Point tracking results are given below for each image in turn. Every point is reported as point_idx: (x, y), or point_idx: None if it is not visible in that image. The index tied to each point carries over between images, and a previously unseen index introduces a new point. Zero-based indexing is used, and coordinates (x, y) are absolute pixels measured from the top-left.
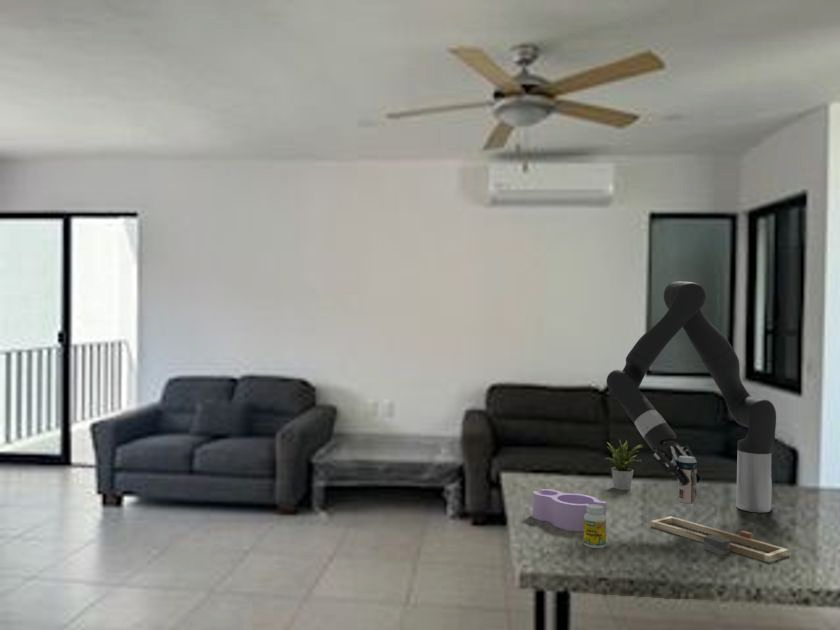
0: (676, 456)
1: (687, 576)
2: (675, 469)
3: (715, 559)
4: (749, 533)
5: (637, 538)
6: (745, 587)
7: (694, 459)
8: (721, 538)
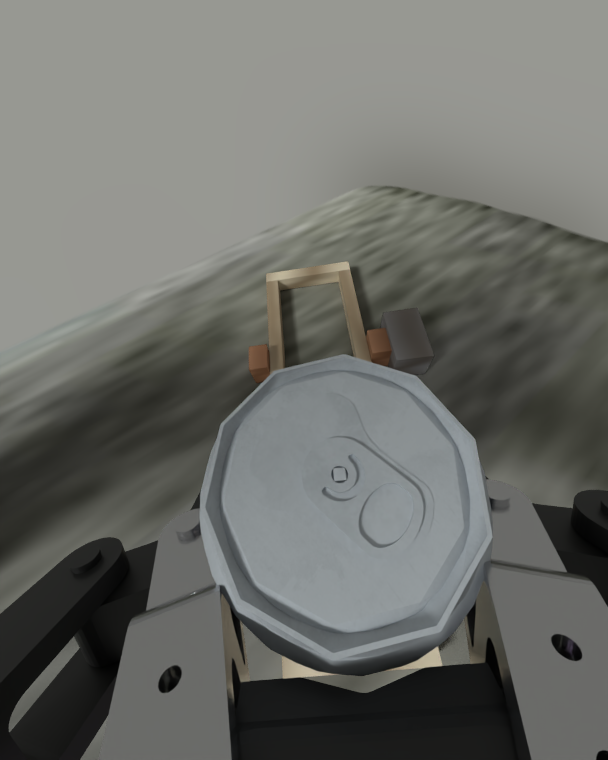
0: (522, 655)
1: (600, 270)
2: (535, 506)
3: (451, 316)
4: (260, 346)
5: None
6: (506, 215)
7: (305, 366)
8: (392, 329)
